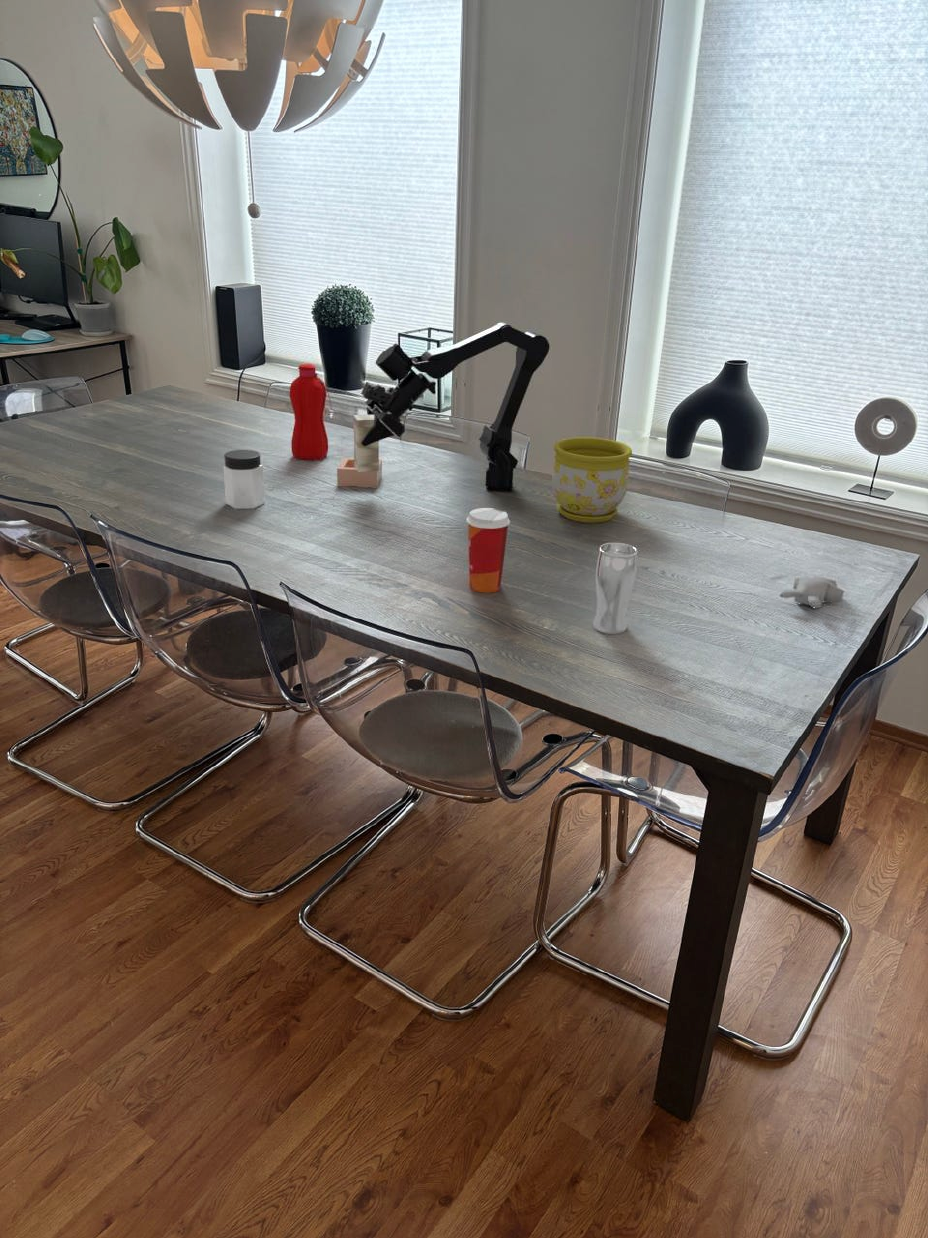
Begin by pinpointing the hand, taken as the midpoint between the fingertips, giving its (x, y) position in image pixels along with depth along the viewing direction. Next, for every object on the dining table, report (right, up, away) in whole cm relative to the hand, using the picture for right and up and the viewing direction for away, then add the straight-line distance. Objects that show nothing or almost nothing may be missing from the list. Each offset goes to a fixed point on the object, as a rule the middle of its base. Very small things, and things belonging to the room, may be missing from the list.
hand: (360, 441), depth 227 cm
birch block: (+1, -6, +3) cm, 7 cm away
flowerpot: (+54, -17, 0) cm, 57 cm away
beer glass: (+51, -44, -56) cm, 87 cm away
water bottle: (-17, +2, +36) cm, 39 cm away
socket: (-2, -7, +17) cm, 18 cm away
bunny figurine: (+92, -40, -43) cm, 109 cm away
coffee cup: (+29, -36, -42) cm, 62 cm away
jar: (-27, -15, -2) cm, 31 cm away
